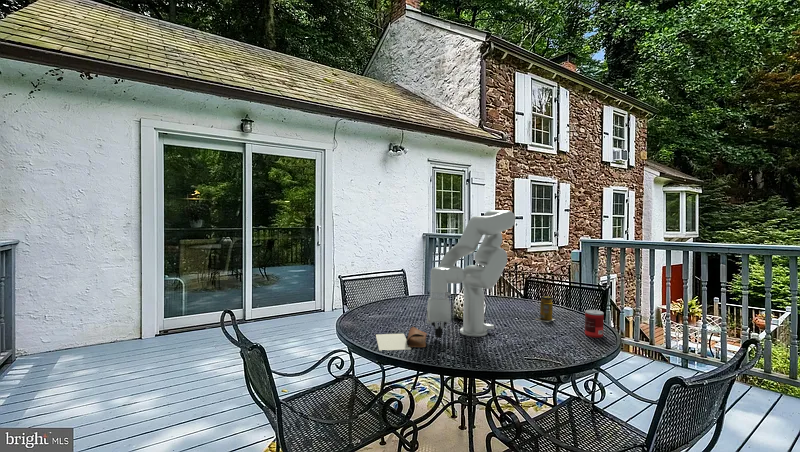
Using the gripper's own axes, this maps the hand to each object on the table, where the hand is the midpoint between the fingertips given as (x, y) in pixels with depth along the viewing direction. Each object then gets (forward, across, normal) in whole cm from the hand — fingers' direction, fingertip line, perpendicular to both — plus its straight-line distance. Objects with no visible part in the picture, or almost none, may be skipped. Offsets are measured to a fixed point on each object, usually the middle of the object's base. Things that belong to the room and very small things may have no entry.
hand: (438, 336), depth 174 cm
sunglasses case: (+2, +10, 0) cm, 10 cm away
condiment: (+2, -64, -26) cm, 69 cm away
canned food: (+2, -72, +2) cm, 73 cm away
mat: (+1, +20, 0) cm, 21 cm away
